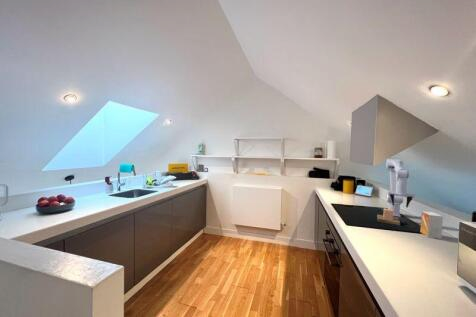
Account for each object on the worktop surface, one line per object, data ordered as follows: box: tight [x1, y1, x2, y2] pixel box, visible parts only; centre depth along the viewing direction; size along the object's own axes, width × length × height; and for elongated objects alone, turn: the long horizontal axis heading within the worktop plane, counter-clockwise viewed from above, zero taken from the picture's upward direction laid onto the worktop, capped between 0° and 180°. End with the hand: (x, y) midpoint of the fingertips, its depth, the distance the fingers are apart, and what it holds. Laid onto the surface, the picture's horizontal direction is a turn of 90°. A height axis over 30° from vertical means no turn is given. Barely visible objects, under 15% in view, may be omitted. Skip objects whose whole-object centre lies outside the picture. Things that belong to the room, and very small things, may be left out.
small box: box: [420, 210, 444, 240], centre depth 119 cm, size 8×6×13 cm
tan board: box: [376, 214, 401, 226], centre depth 143 cm, size 12×12×2 cm
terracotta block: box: [382, 208, 394, 220], centre depth 143 cm, size 5×5×6 cm
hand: (399, 206), depth 144 cm, fingers open, 7 cm apart
